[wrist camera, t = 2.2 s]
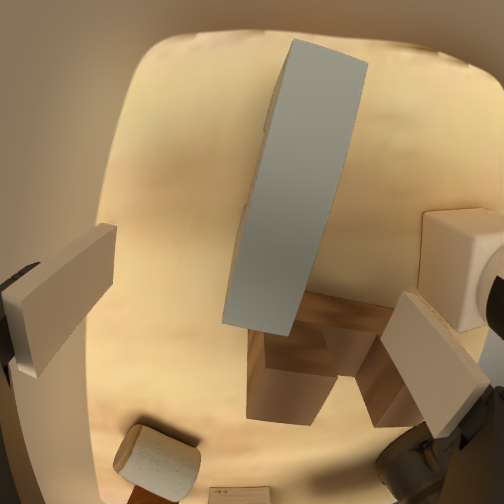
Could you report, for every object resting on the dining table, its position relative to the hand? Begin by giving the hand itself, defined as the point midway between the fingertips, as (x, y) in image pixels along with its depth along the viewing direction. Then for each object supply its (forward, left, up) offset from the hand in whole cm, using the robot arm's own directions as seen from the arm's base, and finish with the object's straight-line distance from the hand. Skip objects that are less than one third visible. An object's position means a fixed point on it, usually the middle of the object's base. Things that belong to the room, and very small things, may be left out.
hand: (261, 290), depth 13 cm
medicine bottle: (-17, -3, -10) cm, 20 cm away
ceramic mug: (+5, +28, -10) cm, 31 cm away
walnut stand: (-7, +6, -10) cm, 13 cm away
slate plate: (0, -4, -10) cm, 11 cm away
